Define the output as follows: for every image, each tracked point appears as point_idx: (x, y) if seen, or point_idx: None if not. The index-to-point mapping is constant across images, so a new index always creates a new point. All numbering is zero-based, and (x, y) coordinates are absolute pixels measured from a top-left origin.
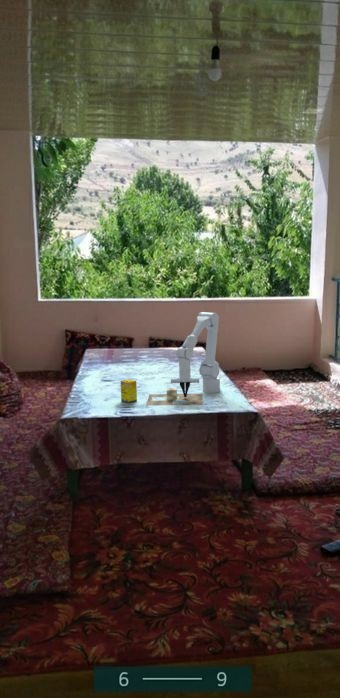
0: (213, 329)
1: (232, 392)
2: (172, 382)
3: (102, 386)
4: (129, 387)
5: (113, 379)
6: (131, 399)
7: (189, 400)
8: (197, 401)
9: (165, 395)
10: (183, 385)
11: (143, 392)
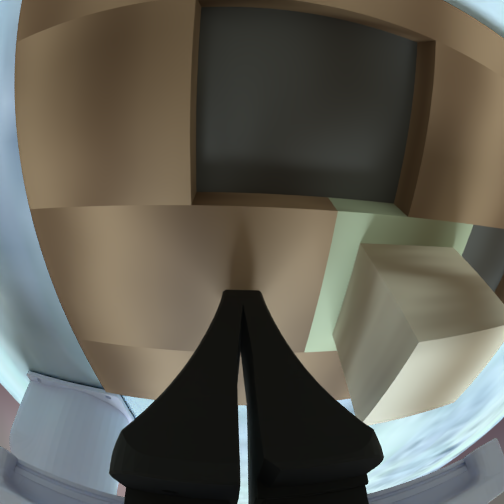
0: None
1: (10, 387)
2: (485, 458)
3: (488, 417)
4: None
5: (431, 459)
6: None
7: (180, 187)
8: (69, 133)
9: None
10: (296, 452)
11: (439, 409)
